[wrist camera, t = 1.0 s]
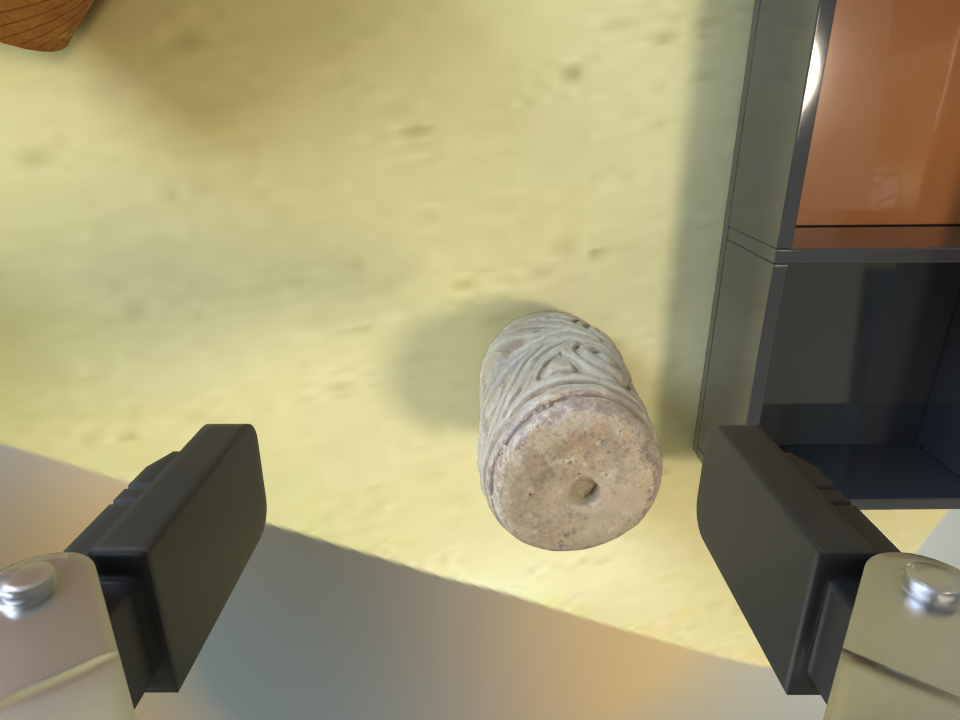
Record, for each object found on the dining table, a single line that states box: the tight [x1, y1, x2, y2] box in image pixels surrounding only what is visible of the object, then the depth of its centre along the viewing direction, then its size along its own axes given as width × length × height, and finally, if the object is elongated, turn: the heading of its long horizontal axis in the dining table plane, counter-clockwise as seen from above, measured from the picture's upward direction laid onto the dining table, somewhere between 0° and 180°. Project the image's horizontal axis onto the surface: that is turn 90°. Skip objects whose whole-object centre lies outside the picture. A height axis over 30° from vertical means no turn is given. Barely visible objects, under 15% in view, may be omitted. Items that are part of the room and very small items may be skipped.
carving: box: [476, 311, 662, 551], centre depth 26 cm, size 6×8×12 cm
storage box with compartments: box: [693, 0, 960, 510], centre depth 27 cm, size 24×12×6 cm, turn 0°
